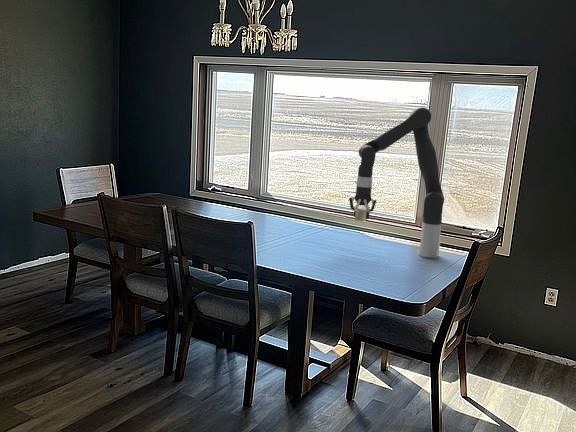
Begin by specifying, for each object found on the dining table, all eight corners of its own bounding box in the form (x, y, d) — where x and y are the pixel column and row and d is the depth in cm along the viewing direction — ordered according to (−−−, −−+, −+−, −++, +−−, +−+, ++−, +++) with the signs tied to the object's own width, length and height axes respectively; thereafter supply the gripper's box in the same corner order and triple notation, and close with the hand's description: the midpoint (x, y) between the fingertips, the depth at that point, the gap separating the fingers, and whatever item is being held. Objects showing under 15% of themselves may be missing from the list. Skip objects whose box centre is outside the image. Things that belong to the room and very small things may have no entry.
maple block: (355, 210, 291) (358, 206, 303) (354, 220, 292) (357, 215, 304) (365, 211, 290) (368, 207, 301) (364, 221, 291) (367, 216, 302)
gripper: (379, 185, 296) (376, 218, 299) (350, 182, 299) (348, 215, 303) (377, 187, 289) (374, 221, 292) (348, 185, 292) (346, 218, 295)
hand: (361, 218), depth 297 cm, fingers closed on maple block, 5 cm apart
